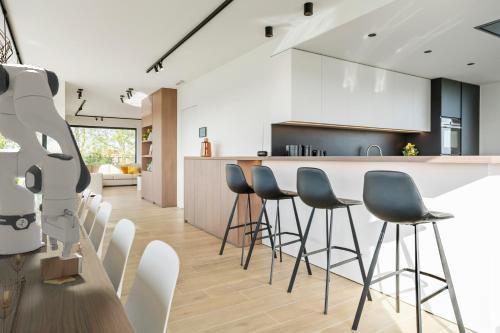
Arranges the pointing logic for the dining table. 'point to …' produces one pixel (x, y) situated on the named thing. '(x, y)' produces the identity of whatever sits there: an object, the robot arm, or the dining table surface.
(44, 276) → the wooden block
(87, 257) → the dining table surface
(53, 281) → the shard
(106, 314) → the dining table surface
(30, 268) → the dining table surface
